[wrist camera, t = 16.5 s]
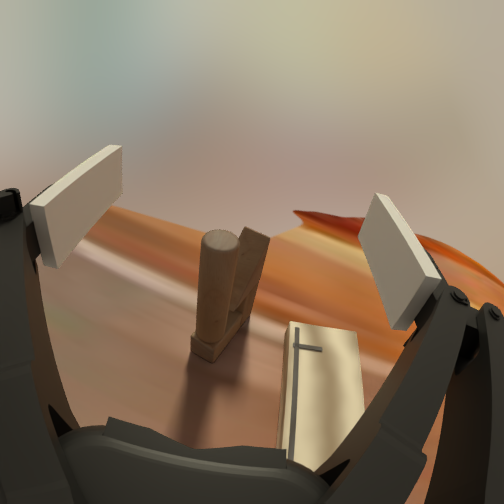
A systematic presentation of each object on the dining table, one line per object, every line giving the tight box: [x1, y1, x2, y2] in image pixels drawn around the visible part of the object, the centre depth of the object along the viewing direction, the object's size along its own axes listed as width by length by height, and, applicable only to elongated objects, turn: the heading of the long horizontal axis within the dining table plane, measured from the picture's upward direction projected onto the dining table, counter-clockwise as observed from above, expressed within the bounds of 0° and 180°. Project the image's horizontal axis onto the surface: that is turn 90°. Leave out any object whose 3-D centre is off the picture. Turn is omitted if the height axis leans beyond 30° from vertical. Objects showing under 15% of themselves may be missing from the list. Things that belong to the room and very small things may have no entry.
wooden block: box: [191, 227, 270, 363], centre depth 36 cm, size 4×11×18 cm, turn 152°
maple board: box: [276, 321, 365, 471], centre depth 30 cm, size 10×30×3 cm, turn 173°
